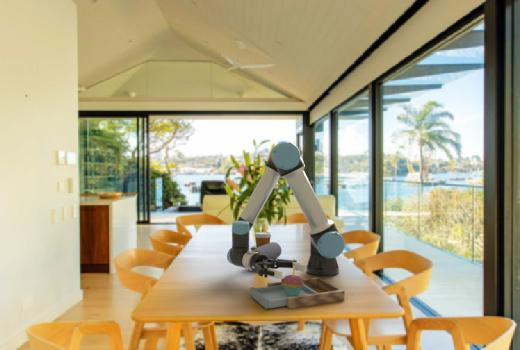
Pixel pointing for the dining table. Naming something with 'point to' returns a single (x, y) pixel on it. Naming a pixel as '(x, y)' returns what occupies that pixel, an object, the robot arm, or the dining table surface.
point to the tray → (275, 295)
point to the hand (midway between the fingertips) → (294, 271)
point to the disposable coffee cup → (262, 238)
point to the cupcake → (292, 284)
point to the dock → (330, 295)
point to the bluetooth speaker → (269, 250)
